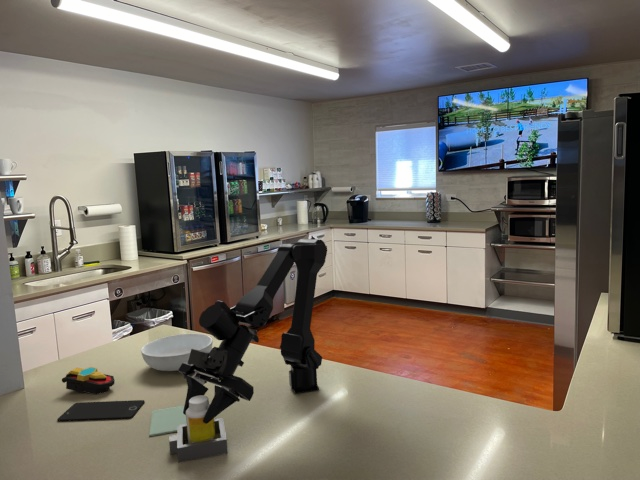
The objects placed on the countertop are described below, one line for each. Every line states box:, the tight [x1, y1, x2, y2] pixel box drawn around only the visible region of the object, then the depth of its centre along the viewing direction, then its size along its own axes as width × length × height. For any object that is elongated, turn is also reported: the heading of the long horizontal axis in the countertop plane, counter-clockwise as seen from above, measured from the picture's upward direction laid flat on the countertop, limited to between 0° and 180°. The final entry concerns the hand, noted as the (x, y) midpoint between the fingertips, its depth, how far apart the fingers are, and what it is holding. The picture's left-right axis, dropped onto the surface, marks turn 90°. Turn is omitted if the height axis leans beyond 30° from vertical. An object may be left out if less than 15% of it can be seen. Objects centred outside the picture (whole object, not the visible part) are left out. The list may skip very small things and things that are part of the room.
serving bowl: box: [140, 332, 214, 372], centre depth 147 cm, size 21×21×7 cm
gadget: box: [61, 366, 115, 395], centre depth 131 cm, size 6×13×6 cm, turn 79°
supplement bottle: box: [186, 394, 216, 444], centre depth 100 cm, size 6×6×10 cm
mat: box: [148, 405, 187, 437], centre depth 113 cm, size 12×12×1 cm
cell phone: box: [56, 399, 146, 423], centre depth 119 cm, size 9×18×1 cm, turn 89°
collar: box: [168, 417, 228, 463], centre depth 101 cm, size 11×10×3 cm
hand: (194, 418), depth 99 cm, fingers open, 6 cm apart
